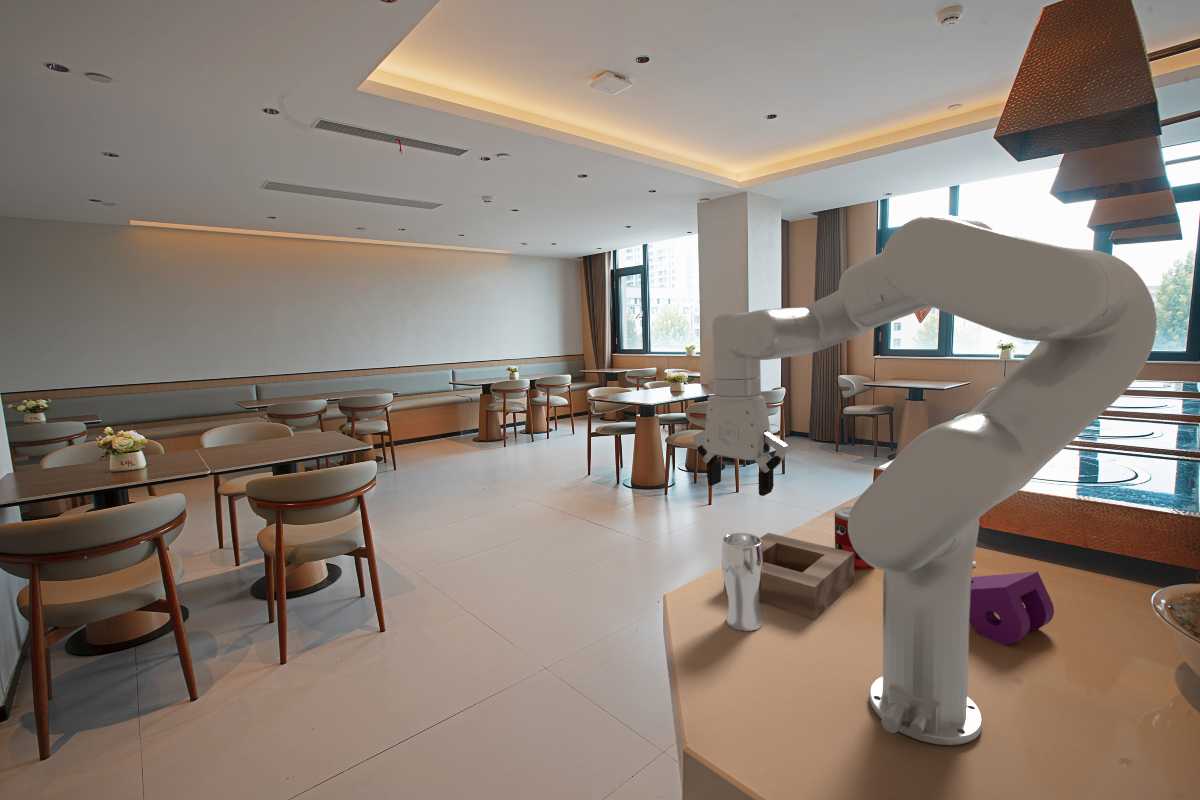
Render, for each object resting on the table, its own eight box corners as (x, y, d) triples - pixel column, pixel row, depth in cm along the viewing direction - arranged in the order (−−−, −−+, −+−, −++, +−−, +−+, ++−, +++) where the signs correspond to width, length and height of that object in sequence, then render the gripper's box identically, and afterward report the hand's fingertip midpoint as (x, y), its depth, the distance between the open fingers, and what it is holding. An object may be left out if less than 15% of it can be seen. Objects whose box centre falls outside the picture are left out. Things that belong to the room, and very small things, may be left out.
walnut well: (814, 619, 95) (814, 587, 94) (724, 589, 108) (723, 560, 107) (853, 581, 108) (853, 552, 107) (768, 559, 120) (768, 532, 120)
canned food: (839, 552, 122) (839, 504, 120) (879, 559, 117) (879, 509, 116) (830, 565, 115) (830, 515, 114) (872, 573, 111) (872, 521, 109)
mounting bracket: (923, 642, 97) (1030, 645, 81) (904, 593, 99) (1004, 587, 84) (955, 626, 101) (1063, 626, 86) (936, 580, 103) (1038, 571, 88)
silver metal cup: (716, 624, 96) (713, 541, 94) (736, 608, 101) (733, 529, 99) (753, 637, 91) (750, 551, 89) (772, 619, 96) (770, 537, 94)
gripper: (680, 388, 94) (684, 485, 96) (775, 393, 82) (776, 504, 84) (705, 383, 99) (708, 475, 102) (797, 387, 87) (798, 492, 90)
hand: (739, 488), depth 93 cm, fingers open, 9 cm apart
